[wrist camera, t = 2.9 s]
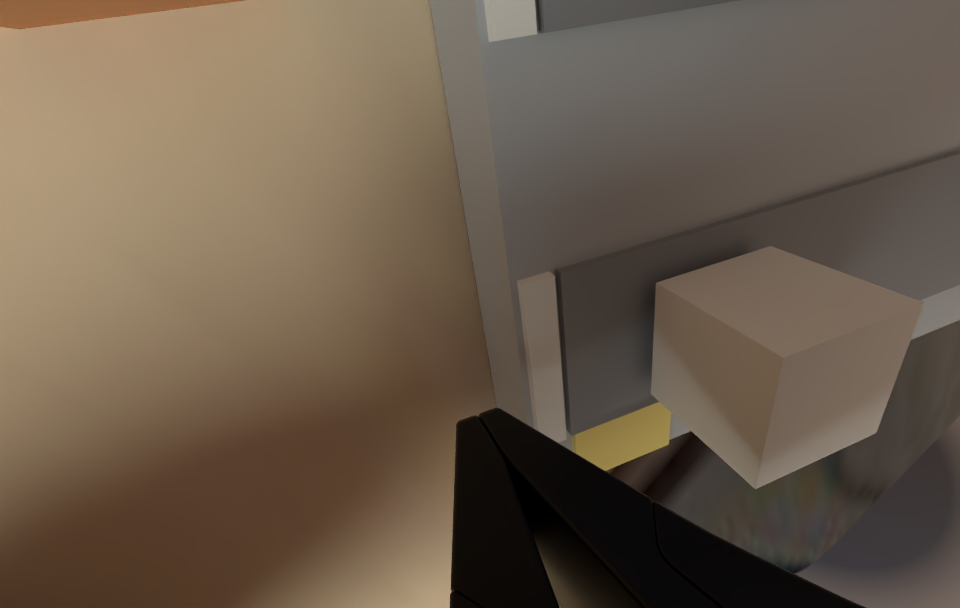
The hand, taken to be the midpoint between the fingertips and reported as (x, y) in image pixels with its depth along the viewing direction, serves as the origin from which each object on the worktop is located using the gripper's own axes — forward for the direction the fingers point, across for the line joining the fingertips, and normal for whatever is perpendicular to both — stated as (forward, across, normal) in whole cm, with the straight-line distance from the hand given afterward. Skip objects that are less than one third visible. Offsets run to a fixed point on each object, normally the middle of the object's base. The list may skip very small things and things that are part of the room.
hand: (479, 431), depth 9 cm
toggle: (+1, -6, 0) cm, 6 cm away
